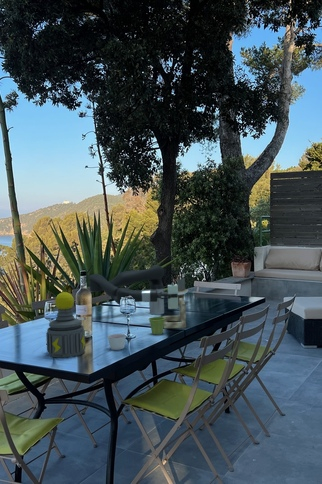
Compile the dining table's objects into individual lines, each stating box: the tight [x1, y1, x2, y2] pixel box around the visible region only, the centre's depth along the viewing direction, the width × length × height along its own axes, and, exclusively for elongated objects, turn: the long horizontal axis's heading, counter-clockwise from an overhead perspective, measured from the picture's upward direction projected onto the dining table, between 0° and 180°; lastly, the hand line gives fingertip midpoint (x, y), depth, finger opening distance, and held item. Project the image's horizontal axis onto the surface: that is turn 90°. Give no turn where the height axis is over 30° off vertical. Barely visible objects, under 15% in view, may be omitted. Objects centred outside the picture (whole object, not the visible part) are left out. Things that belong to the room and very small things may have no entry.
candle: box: [107, 333, 127, 351], centre depth 247 cm, size 9×9×6 cm
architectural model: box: [176, 277, 189, 306], centre depth 374 cm, size 38×25×20 cm, turn 166°
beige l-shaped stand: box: [162, 298, 187, 329], centre depth 302 cm, size 13×23×14 cm, turn 2°
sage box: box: [167, 282, 179, 310], centre depth 301 cm, size 6×5×16 cm
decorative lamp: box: [45, 291, 86, 359], centre depth 240 cm, size 19×19×30 cm
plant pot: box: [148, 316, 165, 336], centre depth 277 cm, size 9×9×9 cm
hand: (177, 295), depth 302 cm, fingers closed on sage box, 5 cm apart
